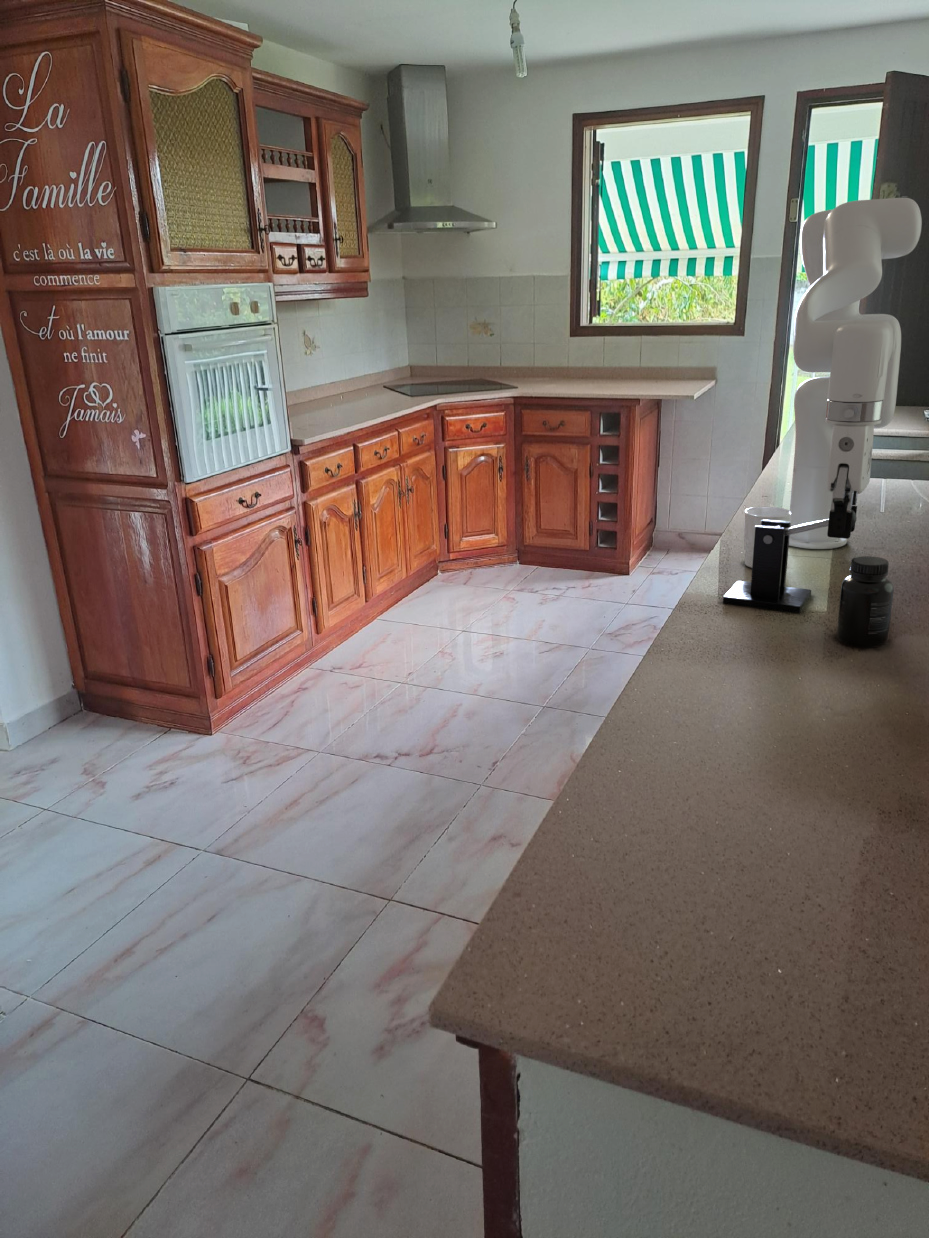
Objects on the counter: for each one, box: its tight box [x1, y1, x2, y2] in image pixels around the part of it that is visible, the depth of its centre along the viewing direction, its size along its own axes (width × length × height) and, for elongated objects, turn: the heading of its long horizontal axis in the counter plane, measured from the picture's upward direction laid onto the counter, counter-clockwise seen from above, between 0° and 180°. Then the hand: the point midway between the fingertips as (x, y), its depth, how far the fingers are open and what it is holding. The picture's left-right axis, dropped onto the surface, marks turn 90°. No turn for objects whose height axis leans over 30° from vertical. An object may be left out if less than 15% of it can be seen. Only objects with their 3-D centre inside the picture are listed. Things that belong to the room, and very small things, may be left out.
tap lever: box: [771, 509, 858, 536], centre depth 137 cm, size 14×3×3 cm, turn 59°
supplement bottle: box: [836, 555, 895, 649], centre depth 125 cm, size 7×7×12 cm
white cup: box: [743, 506, 791, 569], centre depth 160 cm, size 8×8×10 cm
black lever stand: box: [722, 519, 812, 615], centre depth 142 cm, size 12×9×13 cm
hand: (840, 532), depth 135 cm, fingers closed on tap lever, 3 cm apart
